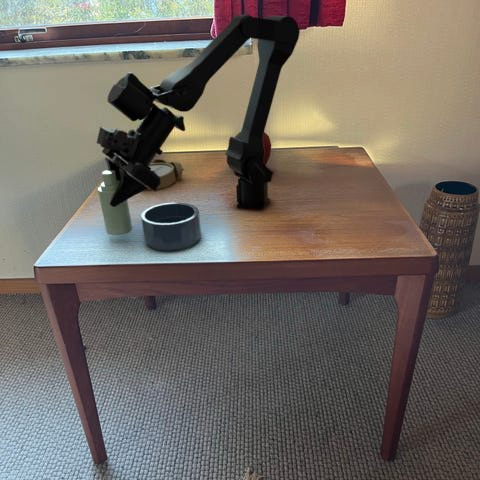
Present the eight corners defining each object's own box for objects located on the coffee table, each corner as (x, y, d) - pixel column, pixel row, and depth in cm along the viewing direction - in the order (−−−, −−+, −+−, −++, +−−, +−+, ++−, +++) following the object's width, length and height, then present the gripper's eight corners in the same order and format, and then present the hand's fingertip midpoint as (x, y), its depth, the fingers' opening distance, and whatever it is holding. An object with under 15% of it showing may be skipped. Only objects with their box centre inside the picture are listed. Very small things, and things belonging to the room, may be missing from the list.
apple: (241, 164, 148) (239, 122, 141) (276, 167, 144) (276, 124, 138) (226, 176, 139) (224, 132, 133) (263, 179, 136) (263, 134, 129)
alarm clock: (122, 174, 135) (161, 150, 143) (127, 191, 138) (165, 167, 146) (151, 182, 129) (190, 156, 137) (156, 199, 132) (194, 173, 140)
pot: (209, 231, 110) (207, 205, 106) (187, 255, 101) (184, 227, 97) (161, 226, 113) (157, 200, 110) (135, 249, 104) (130, 221, 101)
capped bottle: (135, 224, 110) (125, 167, 103) (128, 235, 105) (117, 176, 98) (110, 224, 110) (99, 167, 103) (103, 235, 106) (90, 176, 99)
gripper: (102, 102, 103) (61, 167, 105) (134, 118, 89) (86, 193, 91) (145, 135, 110) (105, 196, 112) (181, 155, 97) (135, 224, 99)
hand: (107, 201), depth 103 cm, fingers closed on capped bottle, 5 cm apart
